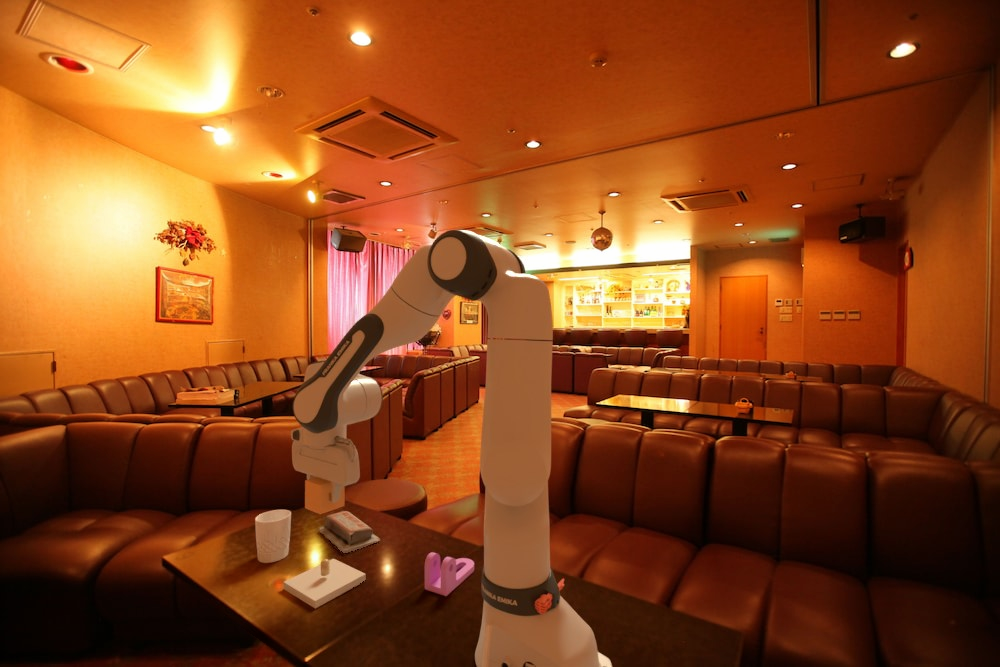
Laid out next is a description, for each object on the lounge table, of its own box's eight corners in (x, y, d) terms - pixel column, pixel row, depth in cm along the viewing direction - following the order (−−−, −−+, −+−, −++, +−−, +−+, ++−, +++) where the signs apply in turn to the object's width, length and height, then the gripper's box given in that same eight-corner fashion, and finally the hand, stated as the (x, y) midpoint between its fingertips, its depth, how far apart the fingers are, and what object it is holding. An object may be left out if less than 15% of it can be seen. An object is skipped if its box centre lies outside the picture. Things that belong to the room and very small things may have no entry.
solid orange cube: (344, 505, 95) (344, 478, 95) (320, 514, 90) (320, 485, 90) (329, 500, 98) (329, 473, 98) (304, 508, 93) (305, 480, 93)
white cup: (266, 567, 101) (266, 525, 101) (248, 559, 105) (248, 518, 105) (297, 553, 108) (297, 513, 108) (279, 546, 112) (279, 507, 112)
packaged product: (317, 515, 120) (352, 506, 127) (317, 533, 120) (352, 523, 127) (343, 537, 107) (381, 525, 114) (344, 557, 107) (381, 544, 113)
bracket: (446, 597, 89) (445, 563, 89) (424, 589, 92) (424, 556, 92) (478, 567, 101) (478, 537, 101) (458, 561, 103) (458, 532, 103)
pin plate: (365, 580, 95) (365, 555, 95) (315, 608, 85) (315, 580, 85) (333, 564, 102) (333, 541, 102) (283, 588, 92) (283, 562, 92)
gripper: (367, 437, 91) (367, 503, 91) (312, 426, 103) (312, 484, 102) (341, 443, 86) (340, 513, 85) (286, 430, 97) (286, 492, 97)
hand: (324, 497), depth 94 cm, fingers closed on solid orange cube, 6 cm apart
